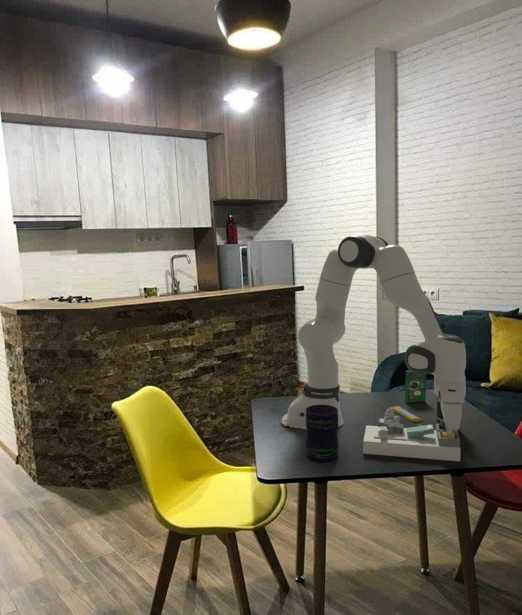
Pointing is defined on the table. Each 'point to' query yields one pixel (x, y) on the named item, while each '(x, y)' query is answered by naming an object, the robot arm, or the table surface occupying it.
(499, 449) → the table surface
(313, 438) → the storage jar
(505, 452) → the table surface
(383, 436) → the slide knob
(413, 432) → the rocker teal
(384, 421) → the rocker charcoal
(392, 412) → the grey rounded piece
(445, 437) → the button orange
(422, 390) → the coffee box
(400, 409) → the candy bar
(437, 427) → the console
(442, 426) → the button black
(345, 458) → the table surface
